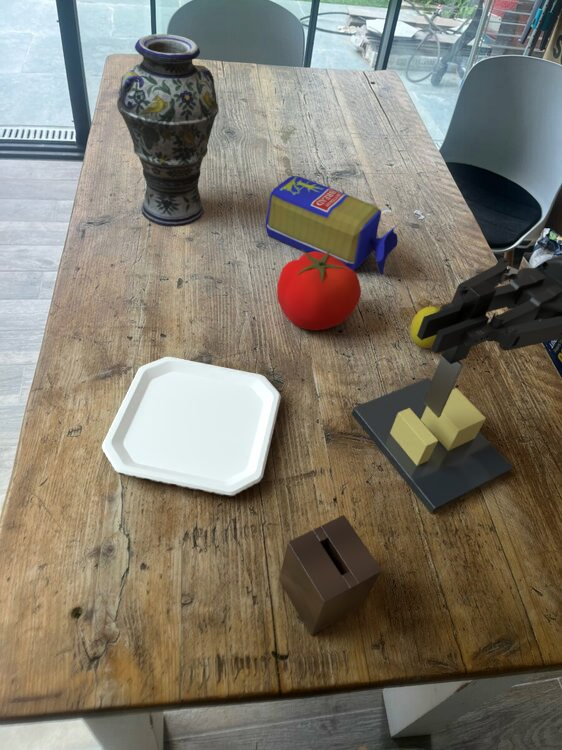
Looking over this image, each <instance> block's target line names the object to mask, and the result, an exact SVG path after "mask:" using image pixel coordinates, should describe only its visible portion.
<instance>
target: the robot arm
mask: <svg viewBox="0 0 562 750" xmlns="http://www.w3.org/2000/svg"><path fill="white" fill-rule="evenodd" d="M509 264H510V260H509V259H508V258H507V257H499V259H498V260H497V262H496V264H495V265H493V266H491V267H489V268H487V269H486V270H483V271H481V272H480V273H478V274H475V275H473V276H472V277H470V278H468V279H466V280H464V281H462V282H460V283H458V285H457V287H456V290H455V292H454V295H453V298H452V300H451V302H449V303H446V304H442V305H441V307H439V309H440V310H439V312H436V313H433V314H430V315H427V316H424V318H423V321H422V323H421V326H420V329H419V331H418V334H417V336H418V337H419V338H420V339H421V340H423V339H426V338H429V337H431V336H434V335H436V338H435V340H434V342H433V345H432V347H431V348H430V351H432V353H433V354H434V355H437V354H440V353H443V351H445V350H448V349H450V348H453V347H456V346H458V345H461V344H465V345H466V346H467V347H471V348H472V347H474V346H476V345H477V346H478V345H479V344H482V343H485V342H490V343H491V342H496V343H497V344H498V347H499V349H501V350H503V351H505V352H506V351H511V350H517V349H522V348H525V347H530V346H535V345H540V344H544V343H549V342H553V341H560V340H561V341H562V254H560V255H558V256H557V255H556V256H554V257H551V258H549V259H546V260H544V261H543V262H541V263H540V264H538V265H537V266H535V267H522V268H520V269H517V268H515V267H512V266H510V265H509ZM508 281H510V282H509V283H507V284H504V283H506V282H508ZM483 282H487V283H489V284H490V285H491V286H492V287H493V288H495V289H496V290H497V291H496V293H495V295H494V297H493V300H492V302H491V304H490V306H489V308H488V311H487V313H490V312H494V311H496V310H501V309H505V308H507V309H508V310H507V311H504V312H502V313H500V314H497V313H496V312H494V313H493V315H492V317H491V319H490V317H488V316H487V314H486V315H485V314H484V315H481V316H478V317H475V318H473V319H469V320H467V321H464V322H461V323H458V324H455V321H456V319H457V316H458V314H459V312H460V309H461V307H462V304H463V302H464V299H465V297H466V294H467V292H468V289H469V287H472V286H474V285H477V284H480V283H483ZM499 285H500V286H499ZM454 324H455V325H454Z"/></svg>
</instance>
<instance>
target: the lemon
mask: <svg viewBox="0 0 562 750" xmlns="http://www.w3.org/2000/svg"><path fill="white" fill-rule="evenodd" d="M439 310H440V307H437V306H426V307H423V308H421V309H420V310H419V311H418V312H416V315H414V317H413V318H412V321H411V323H410V329H409V333H410V337H411V339H412V341H413V342H414V344H416V345H417V346H418V347H420V348H423V349H431V347H432V345H433V342H434V340H435V338H436V335H434V336H431V337H429V338H426V339H423V340H421V339H420V338H419V337H418V336H417V334H418V331H419V329H420V326H421V323H422V321H423V318H424V316H427V315H430V314H433V313H436V312H439Z"/></svg>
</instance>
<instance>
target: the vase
mask: <svg viewBox="0 0 562 750" xmlns="http://www.w3.org/2000/svg"><path fill="white" fill-rule="evenodd" d="M134 50H135V51H136V52H137V53H138V54H139V55H140V56H142V57H143V58H142V61H140V62H139V63H137V64H136V65H134V66H133V67H132V68H131V69H130V70H129V71H126V73H125V74H123V75H122V77H121V83H120V87H119V90H118V98H117V100H116V106H117V110H118V112H119V114H120V115H121V117H122V118H123V121H124V122H125V125H126V128H127V130H128V132H129V136H130V138H131V140H132V144H133V152H134V154H135V155H136V156H137V157H138V159H139V161H140V163H141V166H142V175H143V177H144V179H145V184H146V188H145V194H144V198H143V202H142V204H141V205H142V206H141V214H142V216H143V217H144V218H145V219H146V220H147V221H149V222H151V223H153V224H156V225H159V226H163V227H182V226H187V225H190V224H193V223H195V222H197V221H198V220H199V219H201V218H202V217H203V215H204V211H205V209H204V205H203V203H202V198H201V195H200V189H199V181H200V177H201V167H202V164H203V160H204V158H205V157H206V155H207V153H208V149H209V148H208V144H209V142H210V137H211V133H212V130H213V126H214V123H215V120H216V117H217V115H218V114H219V104H218V101H217V92H216V86H215V79H214V76H213V73H212V71H210V69H209V68H208V67H206V66H205V65H200V64H199V65H197V64H193V60H195V59H196V58H198V57H199V56H200V53H201V50H200V47H199V46H198V45H197V43H195V42H194V41H193V40H191V39H189V38H187V37H184V36H180V35H176V34H175V35H174V34H168V33H154V34H148V35H145V36H142V37H140V38H139V39H138V40H137V41H136V43H135V46H134Z"/></svg>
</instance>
